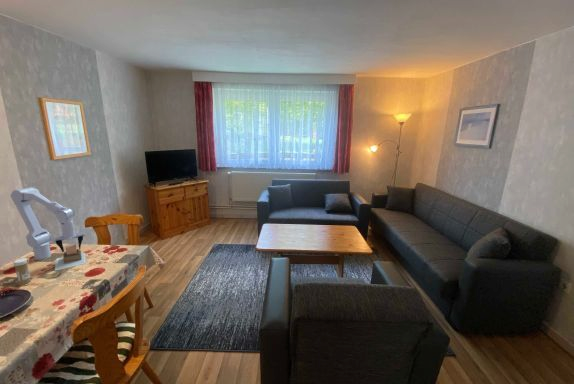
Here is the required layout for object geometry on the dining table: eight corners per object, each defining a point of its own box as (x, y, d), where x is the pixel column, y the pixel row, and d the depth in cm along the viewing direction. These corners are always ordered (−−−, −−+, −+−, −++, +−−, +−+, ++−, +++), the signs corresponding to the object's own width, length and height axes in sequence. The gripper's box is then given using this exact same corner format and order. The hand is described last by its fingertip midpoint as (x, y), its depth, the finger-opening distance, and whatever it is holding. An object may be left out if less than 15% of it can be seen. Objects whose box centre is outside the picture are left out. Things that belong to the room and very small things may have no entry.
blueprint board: (56, 260, 153) (55, 258, 152) (85, 254, 162) (85, 252, 161) (54, 272, 140) (54, 270, 140) (86, 264, 149) (86, 263, 149)
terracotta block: (67, 253, 152) (65, 245, 151) (77, 251, 155) (75, 243, 154) (67, 256, 149) (65, 248, 148) (77, 254, 152) (75, 246, 151)
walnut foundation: (64, 258, 154) (63, 251, 153) (81, 254, 159) (80, 248, 158) (64, 263, 148) (63, 256, 147) (81, 259, 153) (80, 253, 152)
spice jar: (30, 285, 128) (25, 261, 125) (17, 287, 126) (11, 263, 123) (32, 280, 132) (27, 257, 129) (20, 283, 129) (15, 259, 126)
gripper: (51, 233, 141) (55, 255, 144) (83, 228, 150) (87, 249, 153) (51, 229, 146) (55, 251, 149) (83, 224, 156) (86, 245, 159)
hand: (71, 250), depth 152 cm, fingers open, 7 cm apart
